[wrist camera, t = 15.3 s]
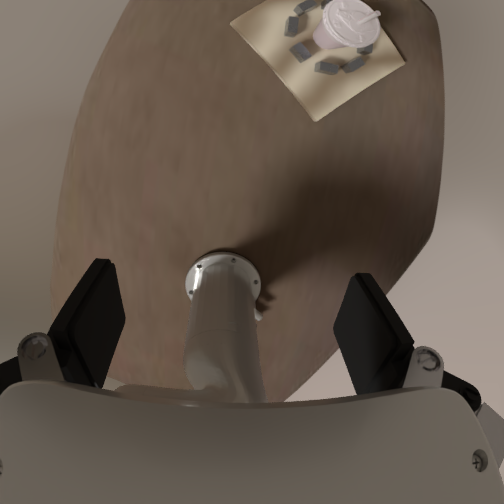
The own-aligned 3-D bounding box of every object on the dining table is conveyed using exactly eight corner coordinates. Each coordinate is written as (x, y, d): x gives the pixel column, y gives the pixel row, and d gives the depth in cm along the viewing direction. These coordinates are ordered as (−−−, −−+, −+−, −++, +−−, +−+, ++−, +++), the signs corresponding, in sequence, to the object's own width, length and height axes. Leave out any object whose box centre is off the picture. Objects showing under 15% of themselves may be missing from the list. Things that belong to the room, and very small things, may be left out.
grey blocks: (379, 53, 28) (387, 51, 26) (320, 89, 31) (326, 88, 29) (330, -8, 24) (336, -14, 21) (266, 25, 27) (269, 20, 24)
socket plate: (400, 64, 30) (405, 63, 29) (313, 121, 35) (316, 121, 34) (328, -27, 23) (331, -30, 21) (230, 25, 27) (230, 22, 26)
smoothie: (341, 65, 30) (395, 51, 17) (297, 47, 28) (332, 19, 16) (352, 29, 27) (406, 4, 14) (309, 11, 25) (348, -28, 13)
